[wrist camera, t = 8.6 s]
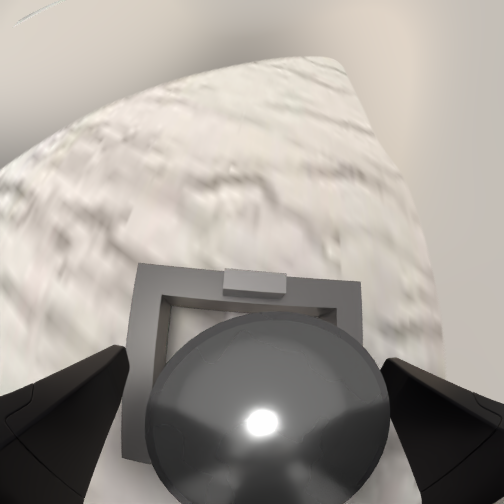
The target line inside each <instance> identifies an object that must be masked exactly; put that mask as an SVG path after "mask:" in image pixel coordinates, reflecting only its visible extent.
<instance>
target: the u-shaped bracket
mask: <svg viewBox="0 0 504 504" xmlns="http://www.w3.org/2000/svg"><path fill="white" fill-rule="evenodd" d="M171 306H178V307H187V308H197V309H207V310H217V311H229V312H241V313H260V312H269V311H270V312H292V313H300V314H304V315H308V316H312V317H319V319H321V320H324V321H326V322H329V323H331V324H333V325H335V326H337V327H338V328H340V329H342V330H344V331H345V332H347V333H348V334H349V335H351V336H352V337H353V338H354V339H356V340H357V341H358V342H359V343H360V344H361V345H362V346H363V330H362V299H361V282H357V281H342V280H327V279H313V278H299V277H286V273H274V272H262V271H250V270H238V269H227V268H225V271H215V270H205V269H194V268H184V267H174V266H164V265H154V264H145V263H138V268H137V273H136V279H135V284H134V290H133V297H132V303H131V310H130V317H129V325H128V333H127V342H126V351H127V355H128V359H129V364H130V369H129V374H128V377H127V381H126V384H125V388H124V392H123V395H122V424H121V439H122V458H125V459H129V460H133V461H137V462H142V463H146V464H151V463H152V462H151V460H150V457H149V454H148V450H147V445H146V440H145V415H146V407H147V404H148V400H149V397H150V393H151V391H152V389H153V386H154V384H155V382H156V380H157V378H158V376H159V375H160V373H161V372H162V370H163V368H164V367H165V361H166V350H167V339H168V329H169V320H170V311H171Z"/></svg>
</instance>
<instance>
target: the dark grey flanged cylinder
mask: <svg viewBox="0 0 504 504" xmlns="http://www.w3.org/2000/svg"><path fill="white" fill-rule="evenodd" d="M389 427H390V403H389V396H388V392H387V387H386V384H385V381H384V379H383V376H382V374H381V372H380V370H379V368H378V366H377V364H376V363H375V361H374V359H373V358H372V357H371V355H370V354H369V353H368V352H367V350H366V349H365V348H364V347H363V346H362V345H361V344H360V343H359V342H358V341H357V340H356V339H354V338H353V337H352V336H351V335H349V334H348V333H347V332H345V331H344V330H342V329H340V328H338V327H337V326H335V325H333V324H331V323H329V322H326V321H324V320H321V319H319V318H316V317H312V316H308V315H304V314H300V313H292V312H270V311H269V312H260V313H252V314H247V315H243V316H239V317H235V318H232V319H229V320H227V321H224V322H221V323H219V324H217V325H215V326H213V327H211V328H209V329H207V330H205V331H203V332H202V333H200V334H199V335H197V336H196V337H194V338H193V339H191V340H190V341H189V342H188V343H186V344H185V345H184V346H183V347H182V348H181V349H180V350H179V351H177V352H176V354H175V355H174V356H173V357H172V358H171V359H170V361H169V362H168V363H167V364H166V365H165V367H164V368H163V370H162V372H161V373H160V375H159V376H158V378H157V380H156V382H155V384H154V386H153V389H152V391H151V393H150V397H149V400H148V404H147V407H146V415H145V440H146V445H147V450H148V454H149V457H150V460H151V462H152V465H153V467H154V469H155V471H156V473H157V475H158V477H159V478H160V480H161V481H162V483H163V484H164V485H165V487H166V488H167V489H168V491H169V492H170V493H171V494H172V495H173V496H174V497H175V498H176V499H177V500H178V501H179V502H180V503H182V504H343V503H345V502H346V501H347V500H348V499H350V498H351V497H352V496H353V495H354V494H355V493H356V492H357V491H358V490H359V489H360V488H361V487H362V486H363V484H364V483H365V482H366V481H367V479H368V478H369V477H370V475H371V474H372V472H373V471H374V469H375V467H376V466H377V464H378V462H379V460H380V458H381V455H382V453H383V451H384V448H385V445H386V441H387V438H388V432H389Z"/></svg>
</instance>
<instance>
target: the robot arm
mask: <svg viewBox="0 0 504 504" xmlns="http://www.w3.org/2000/svg"><path fill="white" fill-rule="evenodd" d="M129 369H130V364H129V359H128V355H127V351H126V348H125V347H124V346H119V345H113V346H110V347H108V348H106V349H104V350H102V351H100V352H98V353H96V354H94V355H92V356H90V357H88V358H86V359H84V360H82V361H79V362H77V363H75V364H73V365H71V366H69V367H67V368H65V369H63V370H61V371H58V372H56V373H54V374H52V375H50V376H48V377H46V378H43V379H41V380H39V381H37V382H35V383H34V384H33V383H32V384H30V385H27V386H25V387H23V388H21V389H18V390H16V391H13V392H11V393H8V394H6V395H3V396H0V504H83V502H84V498H85V496H86V493H87V490H88V487H89V484H90V481H91V478H92V475H93V472H94V470H95V467H96V464H97V461H98V459H99V456H100V453H101V451H102V448H103V445H104V443H105V440H106V438H107V435H108V433H109V430H110V428H111V425H112V423H113V420H114V418H115V415H116V413H117V410H118V408H119V405H120V402H121V399H122V395H123V392H124V388H125V384H126V381H127V377H128V374H129ZM380 372H381V374H382V376H383V379H384V381H385V384H386V387H387V392H388V396H389V403H390V418H391V420H392V423H393V425H394V427H395V430H396V432H397V434H398V437H399V439H400V442H401V444H402V447H403V449H404V452H405V454H406V457H407V459H408V462H409V464H410V467H411V470H412V472H413V475H414V477H415V480H416V483H417V486H418V488H419V491H420V494H421V498H422V504H504V404H502V403H500V402H496V401H494V400H491V399H489V398H486V397H484V396H481V395H479V394H477V393H474V392H473V393H472V392H471V391H469V390H467V389H464V388H462V387H460V386H457V385H455V384H453V383H451V382H448V381H446V380H444V379H442V378H440V377H437V376H435V375H433V374H431V373H429V372H426V371H424V370H422V369H420V368H418V367H416V366H413V365H411V364H409V363H407V362H405V361H403V360H401V359H399V358H388V359H386V360H385V362H384V364H383V366H382V368H381V370H380Z"/></svg>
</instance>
